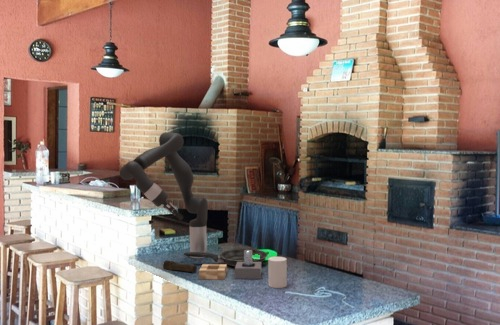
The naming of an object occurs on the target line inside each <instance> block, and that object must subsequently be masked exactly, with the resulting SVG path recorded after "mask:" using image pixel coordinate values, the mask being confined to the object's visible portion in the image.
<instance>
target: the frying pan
mask: <svg viewBox="0 0 500 325" xmlns="http://www.w3.org/2000/svg"><path fill="white" fill-rule="evenodd" d="M244 250H252V255H255V254H258V255H260V259H255V260H254V259H253V258H252V262H261V264H262V263H263V262H264V261H265V260H266V258H267V257H268V253H267V252H266V251H263V250H260V249H255V248H234V249H228V250H224V251H222V252H220V253H219V255H218V254H214V253H210V252H207V253H204V252H190V251H189V252H184V253H183V255H184V256H185V257H190V256H191V257H205V258H209V259H210V258H211V259H212V260H213V261H214V262H215V263H221V264H227V266H230V267H234V268H235V267H236V264H237V262H244ZM191 257H190V258H191Z"/></svg>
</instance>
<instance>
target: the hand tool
mask: <svg viewBox="0 0 500 325" xmlns="http://www.w3.org/2000/svg"><path fill="white" fill-rule="evenodd" d="M162 268H163V269H164V270H169V271H173V270H175V271H182V272H186V273H187V272H188V273H192V274H195V273H197V269H198V265H196V264H193V265H192V264H189V263H188V264H186V263H185V264H184V263H179V262H175V260H164V262H163V264H162Z"/></svg>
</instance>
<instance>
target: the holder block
mask: <svg viewBox="0 0 500 325" xmlns="http://www.w3.org/2000/svg"><path fill="white" fill-rule="evenodd" d="M234 278H235V280H243V279H245V280H261V279H262V263H261V262H252V267H244V262H237V264H236V267H235V266H234Z"/></svg>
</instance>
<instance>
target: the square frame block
mask: <svg viewBox="0 0 500 325" xmlns="http://www.w3.org/2000/svg"><path fill="white" fill-rule="evenodd" d="M227 272H228V264H226V263H202V265H201V267H200V268H199V270H198V280H225V278H226V276H227V274H228V273H227Z"/></svg>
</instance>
